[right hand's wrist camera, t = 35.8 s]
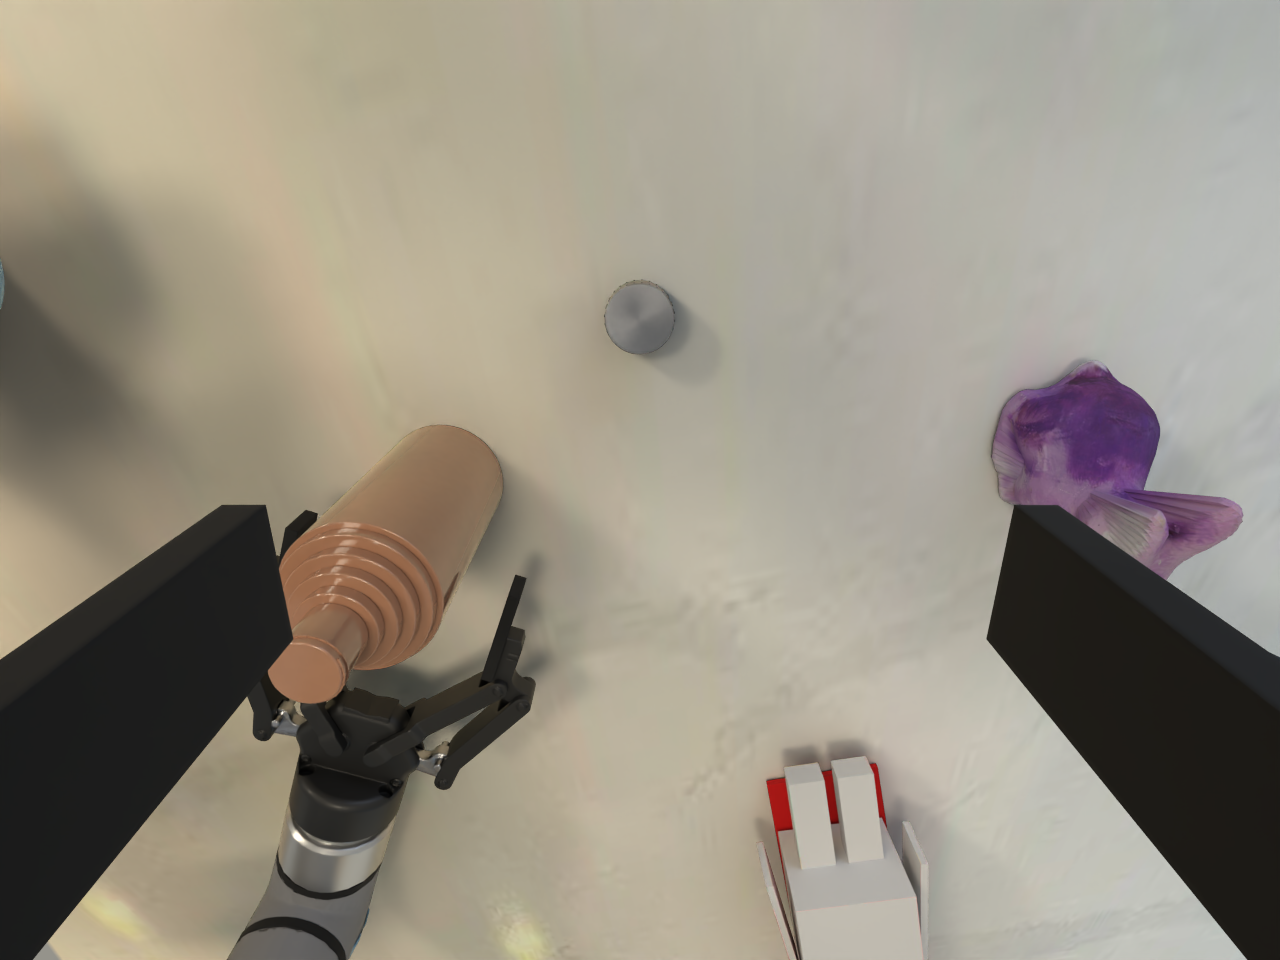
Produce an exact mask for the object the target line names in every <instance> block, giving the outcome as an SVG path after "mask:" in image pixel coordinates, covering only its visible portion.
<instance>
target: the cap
mask: <svg viewBox="0 0 1280 960" xmlns="http://www.w3.org/2000/svg"><path fill="white" fill-rule="evenodd" d="M608 302H609V303H608V304H607V306H606V308H605V309H606V312H605V315H604V317H605V326H606V330H607V333H608V335H609V336H610V338H611V340H612V341H613V342H614V343H615V344H616V345H617V346H618V347H619V348H621V349H622V350H624V351H626V352H629V353H632V354H647V353H650V352H653V351H655V350H657V349H659V348H660V347H661V346H662V345H663V344H665V342H666V341H667V340H668V338H669V337H670V335H671V333H672V330H673V326H674V322H675V320H674V314H675V313H674V310H673V308H672V306H673V305H672V302H670V300H669V296H668V294H667V295H666V293H665V292H664V290H663V289H661V288H660V287H658V286H657V284H656V285H655V284H653V283H651V282H650V281H649V282H648V281H643V280H641V281H635V280H633V281H632V282H626V284H624V285H622V286H619V288H618V289H617V290H616V291H614V292H613V295H612V296H611V297H610V298H609V301H608Z"/></svg>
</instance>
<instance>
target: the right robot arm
mask: <svg viewBox="0 0 1280 960" xmlns="http://www.w3.org/2000/svg"><path fill="white" fill-rule="evenodd" d="M292 640H293V634H292V629H291V625H290V620H289V615H288V610H287V605H286V600H285V596H284V591H283V586H282V581H281V576H280V572H279V567H278V562H277V557H276V552H275V547H274V543H273V538H272V533H271V528H270V523H269V519H268V514H267V509H266V505H221V506H220V507H218V508H217V509H215V510H214V511H213V512H211V513H210V514H208V515H207V516H205V517H204V518H203V519H201V520H200V521H198V522H197V523H195V524H194V525H193V526H191V527H190V528H188V529H187V530H185V531H184V532H183V533H181V534H180V535H178V536H177V537H175V538H174V539H173V540H171V541H170V542H168V543H167V544H165V545H164V546H162V547H161V548H160V549H158V550H157V551H155V552H154V553H152V554H151V555H150V556H148V557H147V558H145V559H144V560H142V561H141V562H140V563H138V564H137V565H135V566H134V567H132V568H131V569H130V570H128V571H127V572H125V573H124V574H122V575H121V576H120V577H118V578H117V579H115V580H114V581H112V582H111V583H109V584H108V585H107V586H105V587H104V588H102V589H101V590H99V591H98V592H97V593H95V594H94V595H92V596H91V597H89V598H88V599H87V600H85V601H84V602H82V603H81V604H79V605H78V606H77V607H75V608H74V609H72V610H71V611H69V612H68V613H67V614H65V615H64V616H62V617H61V618H59V619H58V620H56V621H55V622H54V623H52V624H51V625H49V626H48V627H46V628H45V629H44V630H42V631H41V632H39V633H38V634H36V635H35V636H34V637H32V638H31V639H29V640H28V641H26V642H25V643H24V644H22V645H21V646H19V647H18V648H16V649H15V650H14V651H12V652H11V653H9V654H8V655H6V656H5V657H3V658H2V659H1V660H0V960H33V959H34V958H35V956H36V955H37V954H38V953H39V951H40V950H41V949H42V948H43V946H44V945H45V944H46V943H47V942H48V940H49V939H50V938H51V937H52V935H53V934H54V933H55V932H56V930H57V929H58V928H59V927H60V926H61V924H62V923H63V922H64V921H65V919H66V918H67V917H68V916H69V914H70V913H71V912H72V911H73V910H74V908H75V907H76V906H77V905H78V903H79V902H80V901H81V900H82V898H83V897H84V896H85V895H86V894H87V892H88V891H89V890H90V889H91V887H92V886H93V885H94V884H95V883H96V881H97V880H98V879H99V878H100V876H101V875H102V874H103V873H104V871H105V870H106V869H107V868H108V867H109V865H110V864H111V863H112V862H113V860H114V859H115V858H116V857H117V855H118V854H119V853H120V852H121V851H122V849H123V848H124V847H125V846H126V844H127V843H128V842H129V841H130V839H131V838H132V837H133V836H134V835H135V833H136V832H137V831H138V830H139V828H140V827H141V826H142V825H143V824H144V822H145V821H146V820H147V819H148V817H149V816H150V815H151V814H152V812H153V811H154V810H155V809H156V808H157V806H158V805H159V804H160V803H161V801H162V800H163V799H164V798H165V796H166V795H167V794H168V793H169V792H170V790H171V789H172V788H173V787H174V785H175V784H176V783H177V782H178V780H179V779H180V778H181V777H182V776H183V774H184V773H185V772H186V771H187V769H188V768H189V767H190V766H191V764H192V763H193V762H194V761H195V760H196V758H197V757H198V756H199V755H200V753H201V752H202V751H203V750H204V749H205V747H206V746H207V745H208V744H209V742H210V741H211V740H212V739H213V737H214V736H215V735H216V734H217V733H218V731H219V730H220V729H221V728H222V726H223V725H224V724H225V723H226V721H227V720H228V719H229V718H230V717H231V715H232V714H233V713H234V712H235V710H236V709H237V708H238V707H239V705H240V704H241V703H242V702H243V701H244V699H245V698H246V697H247V696H248V694H249V693H250V692H251V691H252V690H253V688H254V687H255V686H256V685H257V683H258V682H259V681H260V680H261V678H262V677H263V676H264V675H265V674H266V672H267V671H268V670H269V669H270V667H271V666H272V665H273V664H274V662H275V661H276V660H277V659H278V658H279V656H280V655H281V654H282V653H283V651H284V650H285V649H286V648H287V646H288V645H289V644H290V643H291V642H292ZM987 640H988V642H989V643H990V644H991V645H992V646H993V648H994V649H995V650H996V651H997V653H998V654H999V655H1000V656H1001V658H1002V659H1003V660H1004V661H1005V662H1006V664H1007V665H1008V666H1009V667H1010V669H1011V670H1012V671H1013V672H1014V674H1015V675H1016V676H1017V677H1018V678H1019V680H1020V681H1021V682H1022V683H1023V685H1024V686H1025V687H1026V688H1027V690H1028V691H1029V692H1030V693H1031V694H1032V696H1033V697H1034V698H1035V699H1036V701H1037V702H1038V703H1039V704H1040V705H1041V707H1042V708H1043V709H1044V710H1045V712H1046V713H1047V714H1048V715H1049V717H1050V718H1051V719H1052V720H1053V721H1054V723H1055V724H1056V725H1057V726H1058V728H1059V729H1060V730H1061V731H1062V733H1063V734H1064V735H1065V736H1066V737H1067V739H1068V740H1069V741H1070V742H1071V744H1072V745H1073V746H1074V747H1075V749H1076V750H1077V751H1078V752H1079V753H1080V755H1081V756H1082V757H1083V758H1084V760H1085V761H1086V762H1087V763H1088V765H1089V766H1090V767H1091V768H1092V769H1093V771H1094V772H1095V773H1096V774H1097V776H1098V777H1099V778H1100V779H1101V780H1102V782H1103V783H1104V784H1105V785H1106V787H1107V788H1108V789H1109V790H1110V792H1111V793H1112V794H1113V795H1114V796H1115V798H1116V799H1117V800H1118V801H1119V803H1120V804H1121V805H1122V806H1123V808H1124V809H1125V810H1126V811H1127V812H1128V814H1129V815H1130V816H1131V817H1132V819H1133V820H1134V821H1135V822H1136V824H1137V825H1138V826H1139V827H1140V828H1141V830H1142V831H1143V832H1144V833H1145V835H1146V836H1147V837H1148V838H1149V839H1150V841H1151V842H1152V843H1153V844H1154V846H1155V847H1156V848H1157V849H1158V851H1159V852H1160V853H1161V854H1162V855H1163V857H1164V858H1165V859H1166V860H1167V862H1168V863H1169V864H1170V865H1171V867H1172V868H1173V869H1174V870H1175V871H1176V873H1177V874H1178V875H1179V876H1180V878H1181V879H1182V880H1183V881H1184V883H1185V884H1186V885H1187V886H1188V887H1189V889H1190V890H1191V891H1192V892H1193V894H1194V895H1195V896H1196V897H1197V898H1198V900H1199V901H1200V902H1201V903H1202V905H1203V906H1204V907H1205V908H1206V910H1207V911H1208V912H1209V913H1210V914H1211V916H1212V917H1213V918H1214V919H1215V921H1216V922H1217V923H1218V924H1219V926H1220V927H1221V928H1222V929H1223V930H1224V932H1225V933H1226V934H1227V935H1228V937H1229V938H1230V939H1231V940H1232V942H1233V943H1234V944H1235V945H1236V946H1237V948H1238V949H1239V950H1240V951H1241V953H1242V954H1243V955H1244V956H1245V958H1246V959H1247V960H1280V657H1278V656H1276V655H1274V654H1272V653H1270V652H1268V651H1266V650H1265V649H1264V648H1262V647H1261V646H1259V645H1258V644H1256V643H1255V642H1254V641H1252V640H1251V639H1249V638H1248V637H1246V636H1245V635H1244V634H1242V633H1241V632H1239V631H1238V630H1236V629H1235V628H1234V627H1232V626H1231V625H1229V624H1228V623H1226V622H1225V621H1224V620H1222V619H1221V618H1219V617H1218V616H1216V615H1215V614H1213V613H1212V612H1211V611H1209V610H1208V609H1206V608H1205V607H1203V606H1202V605H1201V604H1199V603H1198V602H1196V601H1195V600H1193V599H1192V598H1191V597H1189V596H1188V595H1186V594H1185V593H1183V592H1182V591H1181V590H1179V589H1178V588H1176V587H1175V586H1173V585H1172V584H1171V583H1169V582H1168V581H1166V580H1165V579H1163V578H1162V577H1160V576H1159V575H1158V574H1156V573H1155V572H1153V571H1152V570H1150V569H1149V568H1148V567H1146V566H1145V565H1143V564H1142V563H1140V562H1139V561H1138V560H1136V559H1135V558H1133V557H1132V556H1130V555H1129V554H1128V553H1126V552H1125V551H1123V550H1122V549H1120V548H1119V547H1118V546H1116V545H1115V544H1113V543H1112V542H1110V541H1109V540H1107V539H1106V538H1105V537H1103V536H1102V535H1100V534H1099V533H1097V532H1096V531H1095V530H1093V529H1092V528H1090V527H1089V526H1087V525H1086V524H1085V523H1083V522H1082V521H1080V520H1079V519H1077V518H1076V517H1075V516H1073V515H1072V514H1070V513H1069V512H1067V511H1066V510H1065V509H1063V508H1062V507H1060V506H1059V505H1014V509H1013V514H1012V519H1011V523H1010V528H1009V533H1008V538H1007V543H1006V547H1005V552H1004V557H1003V562H1002V567H1001V572H1000V576H999V581H998V586H997V591H996V596H995V600H994V605H993V610H992V615H991V620H990V625H989V629H988V634H987Z"/></svg>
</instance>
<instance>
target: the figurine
mask: <svg viewBox="0 0 1280 960" xmlns="http://www.w3.org/2000/svg"><path fill="white" fill-rule="evenodd" d="M1159 438H1160V426H1159V423H1158V420H1157V417H1156V414H1155V412H1154V411H1153V409H1152V408H1151V407H1150V406H1149V405H1148V403H1147V402H1146V401H1145V400H1144V399H1143V398H1142V397H1141V396H1140V395H1139V394H1138V393H1136V392H1135V391H1134V390H1132V389H1131V388H1129V387H1127V386H1125V385H1123V384H1121V383H1120V382H1119V381H1118V380H1117V379H1115V378H1114V377H1113V375H1112V374H1111V373H1110V371H1109V370H1108V368H1107V367H1106V366H1105V365H1104V364H1103V363H1101V362H1099V361H1097V360H1093V361H1088V362H1085V363H1083V364H1081V365H1079V366H1078V367H1077V368H1075V369H1074V370H1073V371H1072V372H1071V373H1070V374H1068V375H1067V376H1066V377H1064V378H1063V379H1062V380H1060V381H1059V382H1058V383H1057V384H1055V385H1052V386H1050V387H1048V388H1044V389H1039V390H1031V389H1026V390H1023V391H1020V392H1019V393H1017V394H1016V395H1014V396H1013V397H1012V398H1011V399H1010V400H1009V402H1008V403H1007V404H1006V405H1005V407H1004V408H1003V410H1002V413H1001V416H1000V420H999V423H998V427H997V431H996V434H995V438H994V442H993V452H992V459H993V462H994V465H995V469H996V471H997V472H998V473H999V474H998V478H999V494H1000V497H1001V499H1002V500H1003V501H1006V502H1008V503H1009V504H1021V505H1059V506H1060V507H1062V508H1063V509H1065V510H1066V511H1067V512H1069V513H1070V514H1072V515H1073V516H1075V517H1076V518H1077V519H1079V520H1080V521H1082V522H1083V523H1085V524H1086V525H1087V526H1089V527H1090V528H1092V529H1093V530H1095V531H1096V532H1097V533H1099V534H1100V535H1102V536H1103V537H1105V538H1106V539H1107V540H1109V541H1110V542H1112V543H1113V544H1115V545H1116V546H1118V547H1119V548H1120V549H1122V550H1123V551H1125V552H1126V553H1128V554H1129V555H1130V556H1132V557H1133V558H1135V559H1136V560H1138V561H1139V562H1140V563H1142V564H1143V565H1145V566H1146V567H1148V568H1149V569H1150V570H1152V571H1153V572H1155V573H1156V574H1158V575H1159V576H1160V577H1162V578H1163V579H1165V580H1167V578H1168V577H1169V576H1170V574H1171V573H1172V572H1173V570H1174V569H1175V568H1176V567H1177V566H1178V565H1179V564H1181V563H1182V562H1183V561H1185V560H1187V559H1189V558H1191V557H1192V556H1194V555H1195V554H1198V553H1200V552H1202V551H1205V550H1207V549H1209V548H1211V547H1212V546H1214V545H1216V544H1218V543H1220V542H1221V541H1223V540H1225V539H1227V538H1228V537H1229V536H1231V535H1233V533H1234V532H1235V531H1236V530H1237V529H1238V527H1239V525H1240V524H1241V523H1242V522H1243V521H1242V517H1243V513H1242V508H1241V507H1240V506H1239V505H1238V504H1237V503H1235V502H1234V501H1231V500H1229V499H1226V498H1221V497H1211V496H1200V495H1189V494H1178V493H1167V492H1156V491H1145V490H1144V486H1145V483H1146V480H1147V477H1148V474H1149V471H1150V468H1151V465H1152V462H1153V460H1154V457H1155V454H1156V450H1157V446H1158V442H1159Z"/></svg>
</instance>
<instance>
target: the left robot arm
mask: <svg viewBox="0 0 1280 960" xmlns="http://www.w3.org/2000/svg"><path fill="white" fill-rule="evenodd" d="M4 286H5V284H4V273H3V267H2V262H1V259H0V309H1V307H2V303H3V298H4ZM317 515H318V514H317V513H314V512H311V511H308V510H305V511H304V512H303V513H302V514H301V515H300V516H299V517H297V518H296V519H295V520H294V521H293V522H292V523H291V524H289V525H288V526H287V527H286V528H285V533H284V538H283V543H282V548H281V554H280V556H276V557H277V562H278V567H280V564H281V561H282V559H283V557H284V555H285V553H286V552H287V550H288V549H289V547H290V546H291V545H292V544H293V543H294V542H295V541H296V540H297V539H298V538H299V537H300V536H301V535H302V534H303V533H304V532H305V531H306V530H307V529H308V528H310V527H311V526H312V525H313V524H314V523H315V522H316V520H317ZM525 582H526V578H525V577H521V576H518V575H515V577H514V580H513V583H512V586H511V589H510V592H509V595H508V598H507V601H506V604H505V607H504V610H503V613H502V616H501V619H500V622H499V625H498V628H497V631H496V634H495V637H494V640H493V643H492V646H491V649H490V652H489V655H488V658H487V661H486V664H485V667H484V670H483V671H482V672H480V673H478V674H476V675H474V676H472V677H471V678H469V679H467V680H465V681H463V682H461V683H459V684H457V685H455V686H453V687H451V688H449V689H447V690H445V691H443V692H441V693H439V694H437V695H435V696H433V697H431V698H429V699H426V698H422V699H420V700H418V701H416V702H414V703H412V704H410V705H408V706H407V707H405V708H404V707H403V706H402V705H400V704H398V702H399V700H397V699H394V698H390V697H381V696H375V695H373V694H371V693H369V692H367V691H365V690H362V689H358V688H354V690H353V691H349V690H348V688H347V687H346V685H345V686H344V687H343V689H342V691H341V692H340V693H339V694H338V695H337V696H336V697H334V698H332V699H331V700H329V701H327V702H326V701H325V702H321V703H314V704H307V703H301V705H300V709H301V712H302V714H303V715H304V717H303V716H301V715H299V714H298V713H297V712H296V709H295V706H294V704H295V703H296V701H294V700H292V699H289V698H288V697H286V696H284V695H283V694H282V693H280V692H279V691H278V690H277V689H276V688H275V686H274V685H273V684H272V682H271V680H270V678H269V674H268V671H267V672H266V674H265V675H264V676H263V677H262V678H261V680H260V681H259V682H258V683H257V685H256V686H255V687H254V688H253V690H252V691H251V692H250V693H249V694H248V696H247V697H248V699H249V702H250V704H251V707H252V709H253V712H254V717H253V735H254V737H255V738H256V739H258V740H260V741H267V740H269V739H270V738H271V736H272V735H273V734H274V733H278V734H284V735H290V736H295V737H296V738H297V741H298V744H299V746H300V754H299V758H298V762H297V767H296V771H295V775H294V780H293V784H292V788H291V793H290V798H289V803H288V806H287V809H286V814H285V819H284V823H283V828H282V833H281V838H280V843H279V847H278V851H277V855H276V860H275V864H274V868H273V872H272V875H271V879H270V882H269V885H268V887H267V889H266V892H265V894H264V896H263V898H262V900H261V901H260V903H259V905H258V907H257V909H256V910H255V912H254V914H253V916H252V918H251V919H250V921H249V923H248V925H247V927H246V928H245V930H244V931H243V932H242V934H241V936H240V938H239V939H238V941H237V943H236V945H235V946H234V948H233V950H232V952H231V953H230V955H229V957H228V958H227V960H348V959H349V958H350V956H351V954H352V953H353V951H354V949H355V947H356V945H357V944H358V942H359V940H360V936H361V933H362V930H363V928H364V926H365V924H366V922H367V918H368V914H369V904H370V901H371V898H372V894H373V890H374V886H375V883H376V879H377V875H378V872H379V868H380V866H381V863H382V861H383V858H384V855H385V852H386V848H387V845H388V842H389V839H390V835H391V832H392V829H393V826H394V823H395V819H396V815H397V812H398V809H399V806H400V803H401V800H402V797H403V793H404V790H405V787H406V784H407V780H408V777H409V775H410V774H411V773H412V772H413V771H415V770H419V771H422V772H425V773H427V774H430V775H433V776H436V778H435V782H434V783H435V786H436V787H437V788H439V789H442V790H446V789H449V788H450V787H451V785H452V784H453V782H454V780H455V778H456V776H457V774H458V772H459V770H460V768H462V767H463V766H464V765H465V764H467V763H468V762H469V761H470V760H471V759H473V758H474V757H475V756H476V755H477V754H479V753H480V752H481V751H482V750H483V749H485V748H486V747H487V746H488V745H489V744H491V743H492V742H493V741H494V740H495V739H497V738H498V737H499V736H500V735H501V734H503V733H504V732H505V731H506V730H508V729H509V728H510V727H511V726H512V725H514V724H515V723H516V722H517V721H518V720H520V719H521V718H522V717H523V716H524V715H526V714H527V713H528V712H529V711H530V708H531V704H532V700H533V695H534V691H535V685H536V683H535V681H534V680H533V679H532V678H530V677H521V676H520V675H519V674H518V673H517V672H516V670H515V668H516V665H517V662H518V659H519V657H520V654H521V651H522V648H523V644H524V640H525V630H523V629H519V628H516V627H513V626H511V624H512V621H513V618H514V616H515V613H516V610H517V607H518V604H519V601H520V598H521V594H522V591H523V588H524V585H525ZM488 705H489V706H488ZM486 706H488V707H487V708H486V709H484V710H483V711H482V712H481V713H480V714H479V715H477V716H476V717H475V718H474V719H473V720H472V721H470V722H469V723H468V724H467V725H466V726H464V727H463V728H462V729H461V730H460V731H459V732H458V733H457V734H456V735H455V736H454V737H453V738H452V740H451V742H450V743H449V742H448V741H444V742H442V745H439V746H437V747H436V748H435V749H434V750H432V751H426V750H424V744H423V742H422V741H423V740H424V739H425V738H426V737H427V736H428V735H430V734H432V733H434V732H436V731H438V730H440V729H442V728H444V727H446V726H448V725H450V724H452V723H454V722H456V721H458V720H460V719H462V718H464V717H466V716H468V715H470V714H472V713H474V712H476V711H478V710H480V709H482V708H484V707H486Z"/></svg>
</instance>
